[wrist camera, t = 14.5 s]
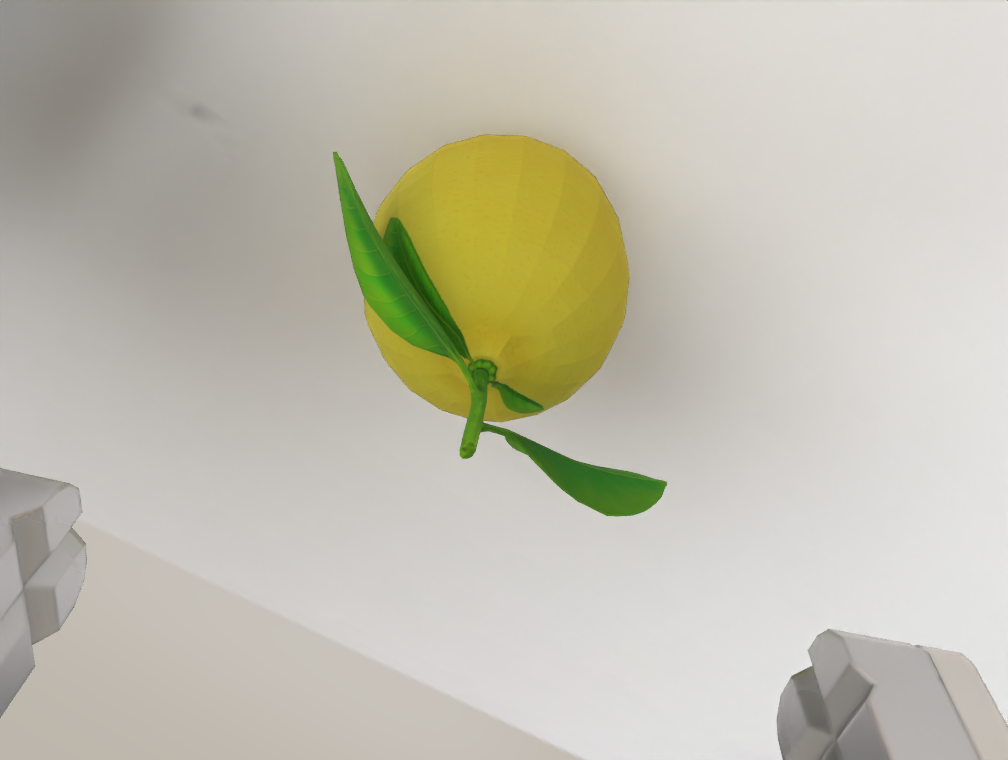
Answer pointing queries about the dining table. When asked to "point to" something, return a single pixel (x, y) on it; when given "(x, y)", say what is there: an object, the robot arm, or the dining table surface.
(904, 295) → the dining table surface
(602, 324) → the lemon
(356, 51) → the dining table surface
